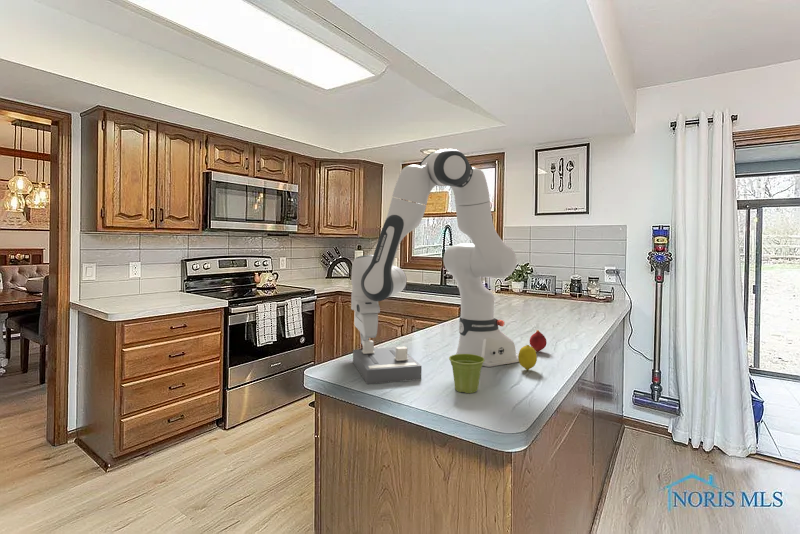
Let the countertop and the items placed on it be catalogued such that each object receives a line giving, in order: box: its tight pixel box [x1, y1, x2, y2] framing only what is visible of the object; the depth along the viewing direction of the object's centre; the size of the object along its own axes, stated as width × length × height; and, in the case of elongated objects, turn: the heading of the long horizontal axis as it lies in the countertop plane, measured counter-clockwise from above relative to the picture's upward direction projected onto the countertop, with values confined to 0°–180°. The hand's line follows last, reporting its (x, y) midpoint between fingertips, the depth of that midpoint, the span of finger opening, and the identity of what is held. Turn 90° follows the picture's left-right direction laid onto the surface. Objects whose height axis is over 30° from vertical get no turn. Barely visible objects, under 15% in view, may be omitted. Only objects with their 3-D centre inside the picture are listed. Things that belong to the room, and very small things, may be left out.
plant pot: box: [448, 354, 485, 394], centre depth 116 cm, size 9×9×9 cm
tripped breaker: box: [362, 339, 375, 354], centre depth 137 cm, size 4×3×4 cm
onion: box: [529, 329, 547, 353], centre depth 156 cm, size 6×6×8 cm
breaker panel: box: [352, 346, 422, 385], centre depth 132 cm, size 16×22×4 cm
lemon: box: [518, 344, 538, 371], centre depth 134 cm, size 6×6×8 cm
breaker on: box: [394, 346, 409, 361], centre depth 129 cm, size 4×3×4 cm
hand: (364, 345), depth 143 cm, fingers closed
